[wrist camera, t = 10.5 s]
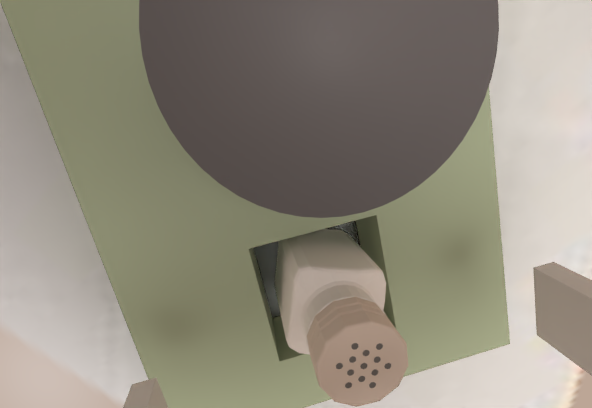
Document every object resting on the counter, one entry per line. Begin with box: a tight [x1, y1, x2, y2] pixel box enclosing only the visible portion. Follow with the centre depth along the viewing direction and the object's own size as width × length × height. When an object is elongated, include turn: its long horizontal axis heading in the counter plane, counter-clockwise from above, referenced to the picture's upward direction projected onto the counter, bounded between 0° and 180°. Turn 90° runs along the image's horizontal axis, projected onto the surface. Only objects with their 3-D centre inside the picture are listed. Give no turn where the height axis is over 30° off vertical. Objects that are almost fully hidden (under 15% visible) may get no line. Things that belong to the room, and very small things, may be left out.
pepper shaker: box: [274, 229, 408, 406], centre depth 17 cm, size 4×4×10 cm
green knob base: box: [0, 0, 510, 408], centre depth 16 cm, size 22×18×9 cm
